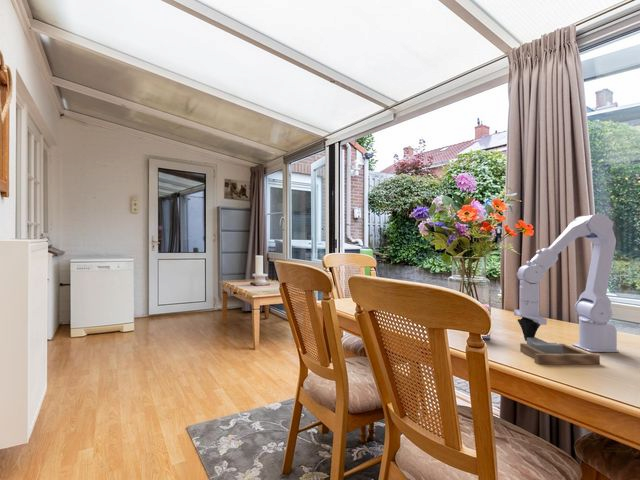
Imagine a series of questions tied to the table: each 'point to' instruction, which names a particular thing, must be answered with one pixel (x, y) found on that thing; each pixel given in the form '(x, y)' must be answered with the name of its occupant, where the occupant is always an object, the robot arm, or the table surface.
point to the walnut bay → (560, 356)
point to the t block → (545, 346)
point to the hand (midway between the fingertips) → (529, 341)
